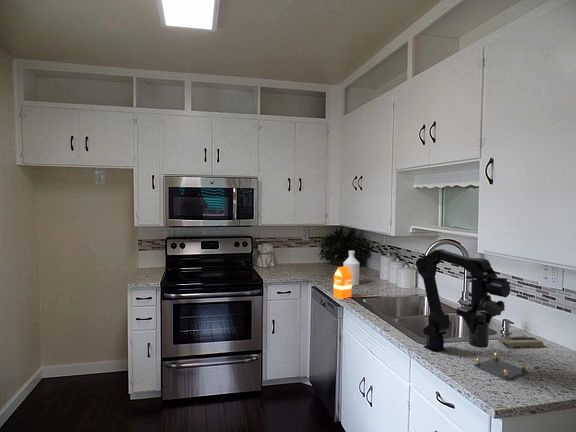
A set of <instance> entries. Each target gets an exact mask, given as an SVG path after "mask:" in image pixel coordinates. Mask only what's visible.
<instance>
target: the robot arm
mask: <svg viewBox="0 0 576 432" xmlns="http://www.w3.org/2000/svg"><path fill="white" fill-rule="evenodd" d="M442 261H443V262H445V263H448V264H452V265H456V266H459V267H461V268H463V269H464V270H465V271H467V272H468V273H469V275H468V274H467V276H465V279H468V280H471V284H470V285H471V287H470V288H471V289H470V293H468V297H470V303H468V306H464V305H463V306H460V307H457V308H456V313H455V315H457V316H459V317H462V318H463V320H464V322H465V324H466V325H467V328H468V331H469V330H470V332H471V333H472V334H474V331H475V321H476V320H477V319H478V317H476V315H477V313H483V314H485V315H486V320H485V321H486V322H487V323H488V324H489V325H490V323H491V322H492V321H491V320H492V319H493V318H494V317H497V316H501V314H502V312H504V311H505V310H506V309H505V302H504V301H503V300H498V301H495V300H494V301H493V300H492V296H491V295H493V296H497V297H501V298H507V297H508V296H509V295H510V292H511V286H510V283H509V282H508V278H506V277H498V274H496V272H495V270H494V269H493V268H492V265H491V262H490V260H488V259H486V258H480V257H468V256H465V255H461V254H458V253H455V252H454V253H453V252H451V251H448V250H445V249H443V248H440V249H434V250H433V251H432V252H430V253H428V254H426V255H424V256H422V257H420V258H418V259H416V261H415V266H416V270H417V272H418V274H419V276H420V277H421V278H422V280H423V283H424V289H425V294H426V299H427V304H428V309H429V314H428V318H427V324H428V325H427V326H425V327H424V328H423V329H422V333H423V334H424V335H425V336H426V343H425V345H423V348H426V349H428V350H430V351H432V352H435V353H437V352H441V351H444V350H446V347H445V345H444V344H445V342H444V341H445V340H444V335H446V334H447V331H449V329H450V328H451V321H450V316H449V314H448V313H445V312H444V311H443V309H442V303H441V299H440V294H439V291H438V290H439V289H438V285H437V279H436V275H437V270H438V269H437V268H438V267H437V265H439V264H440V263H441V262H442Z"/></svg>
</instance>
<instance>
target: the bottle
mask: <svg viewBox="0 0 576 432" xmlns="http://www.w3.org/2000/svg"><path fill="white" fill-rule="evenodd" d="M355 251H356V250H348V258H346V259H345V260H344V261H343V263H342V264H343V266H342V267H344V266H348V268H349V271H350V273H351V275H352V287H355V286H354V285H358V286H359V284H360V266H361V265H360V262H359V260H357V259H356V257H355V254H356V253H355Z"/></svg>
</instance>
